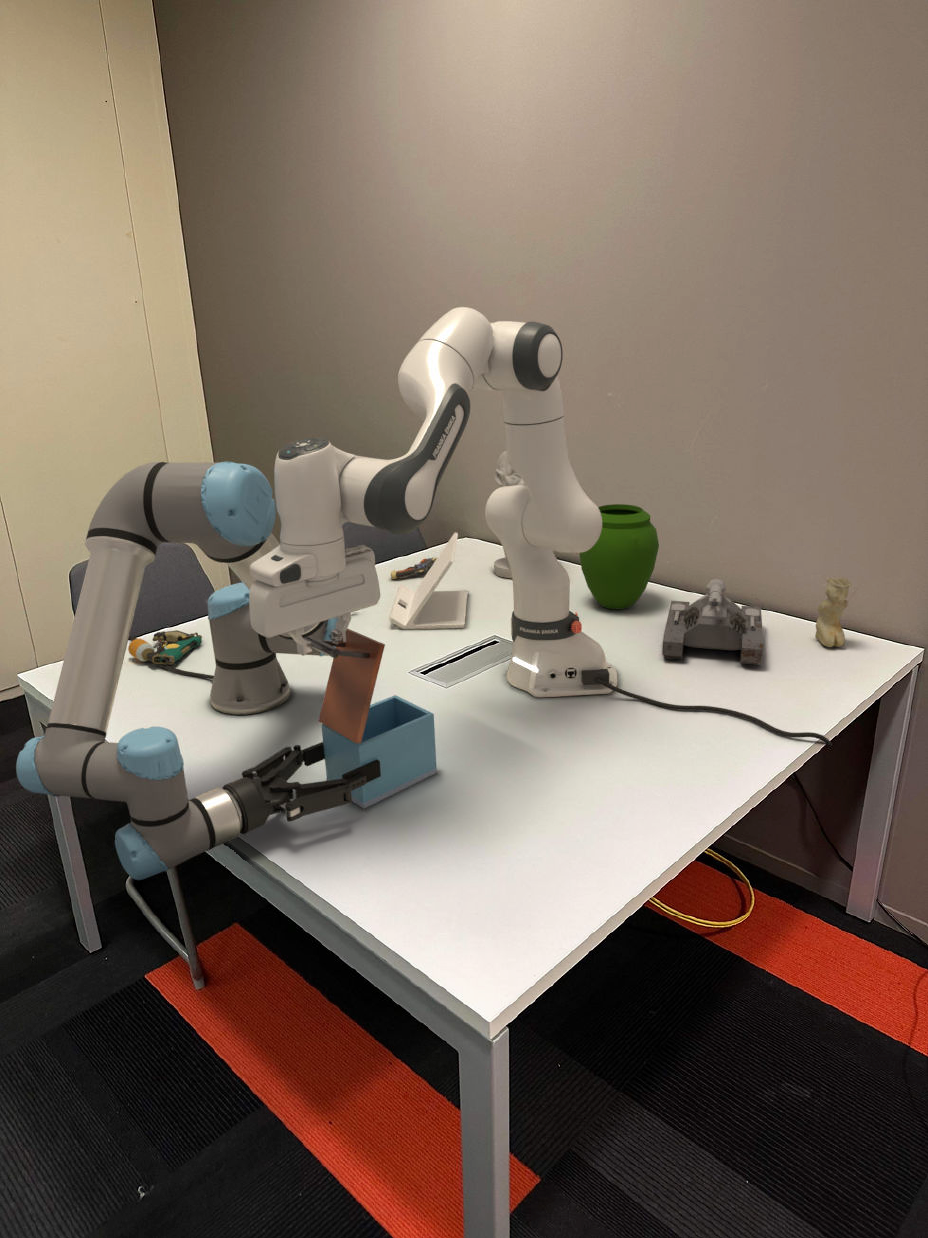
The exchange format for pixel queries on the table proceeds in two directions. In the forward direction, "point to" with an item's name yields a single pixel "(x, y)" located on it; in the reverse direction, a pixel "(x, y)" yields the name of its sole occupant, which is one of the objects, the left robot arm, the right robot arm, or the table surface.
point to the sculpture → (832, 613)
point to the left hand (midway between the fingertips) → (358, 755)
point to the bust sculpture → (504, 478)
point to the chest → (385, 749)
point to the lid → (349, 682)
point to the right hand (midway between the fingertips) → (322, 647)
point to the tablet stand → (431, 599)
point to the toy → (714, 626)
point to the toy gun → (414, 568)
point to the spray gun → (164, 647)
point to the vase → (621, 556)
